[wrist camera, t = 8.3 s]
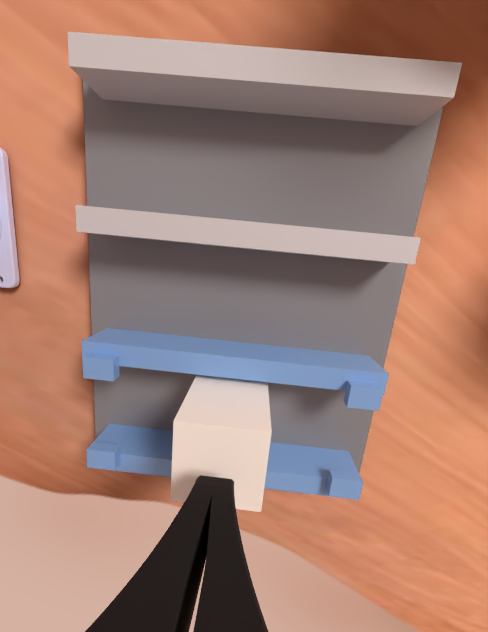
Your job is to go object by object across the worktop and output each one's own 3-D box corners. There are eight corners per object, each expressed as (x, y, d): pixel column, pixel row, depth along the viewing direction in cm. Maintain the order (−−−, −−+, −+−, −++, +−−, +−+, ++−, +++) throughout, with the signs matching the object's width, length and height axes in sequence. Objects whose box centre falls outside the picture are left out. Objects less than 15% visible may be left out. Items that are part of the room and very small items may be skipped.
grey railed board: (104, 444, 20) (65, 492, 16) (93, 52, 14) (28, -27, 10) (351, 473, 19) (376, 530, 15) (438, 80, 14) (513, 9, 10)
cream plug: (199, 419, 18) (170, 500, 12) (202, 362, 17) (173, 420, 11) (259, 426, 18) (260, 511, 12) (266, 369, 17) (271, 432, 11)
